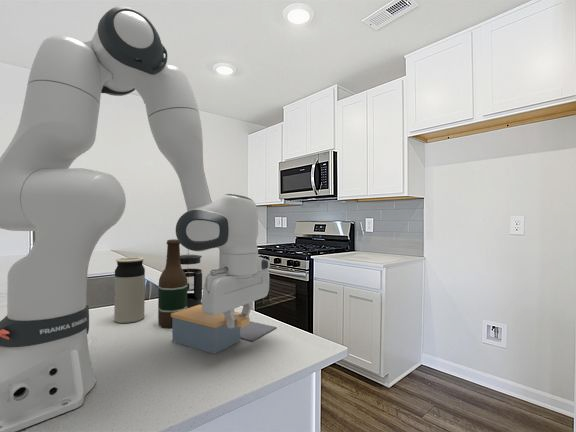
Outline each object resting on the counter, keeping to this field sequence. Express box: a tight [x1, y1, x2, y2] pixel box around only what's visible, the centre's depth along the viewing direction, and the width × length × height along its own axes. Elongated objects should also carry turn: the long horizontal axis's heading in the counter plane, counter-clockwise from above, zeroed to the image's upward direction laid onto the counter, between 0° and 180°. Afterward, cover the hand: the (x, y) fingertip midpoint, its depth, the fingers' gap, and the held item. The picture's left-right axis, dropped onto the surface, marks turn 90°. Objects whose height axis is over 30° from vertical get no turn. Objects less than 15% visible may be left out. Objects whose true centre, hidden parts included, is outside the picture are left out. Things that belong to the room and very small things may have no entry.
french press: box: [180, 249, 203, 308], centre depth 109 cm, size 12×9×23 cm
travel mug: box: [113, 256, 146, 324], centre depth 95 cm, size 8×8×18 cm
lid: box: [171, 305, 251, 328], centre depth 78 cm, size 10×19×2 cm, turn 60°
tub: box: [171, 318, 241, 355], centre depth 79 cm, size 9×14×6 cm, turn 60°
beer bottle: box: [157, 238, 188, 329], centre depth 91 cm, size 8×8×24 cm
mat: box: [240, 321, 277, 343], centre depth 87 cm, size 11×14×1 cm
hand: (238, 324), depth 74 cm, fingers closed on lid, 3 cm apart
